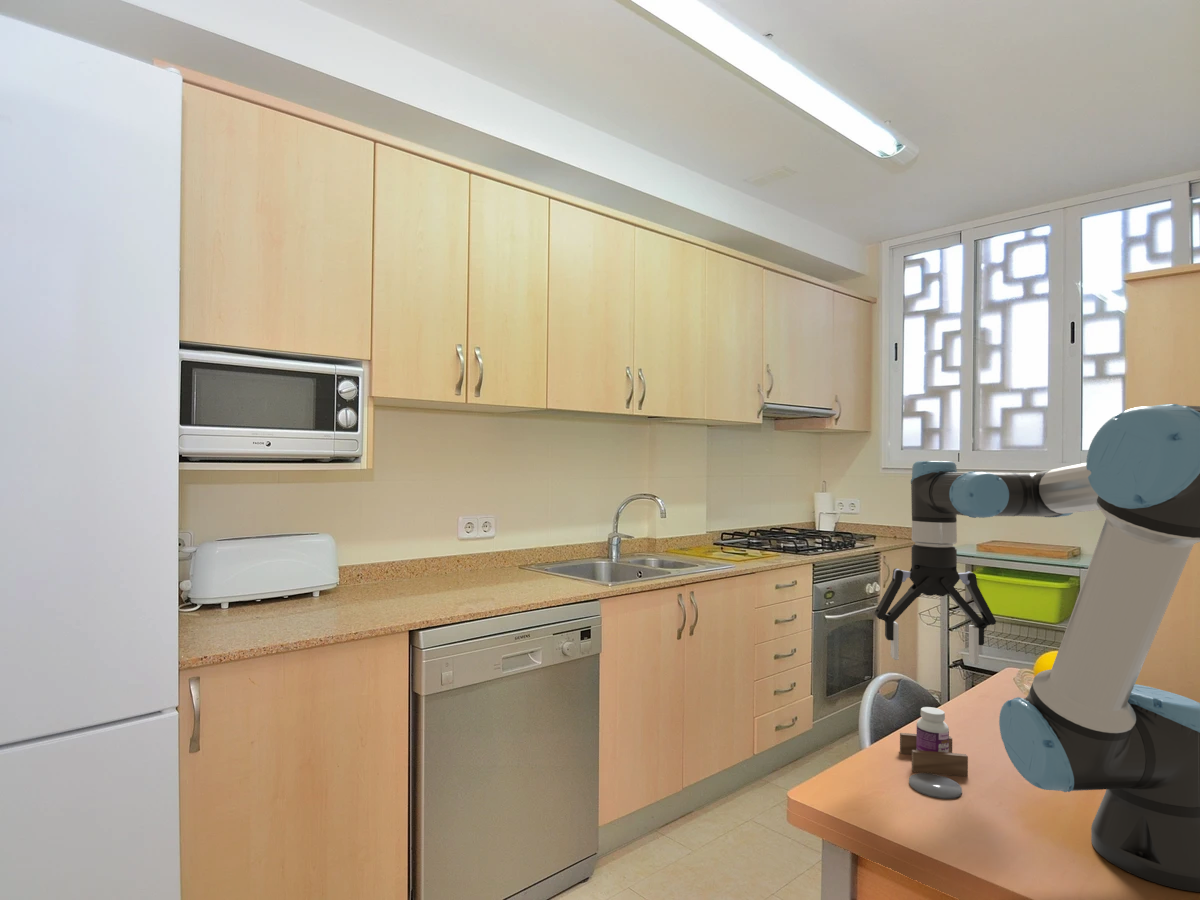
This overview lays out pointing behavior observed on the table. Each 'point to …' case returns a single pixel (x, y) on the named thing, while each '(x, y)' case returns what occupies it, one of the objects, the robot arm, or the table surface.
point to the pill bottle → (932, 731)
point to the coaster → (935, 785)
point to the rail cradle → (933, 758)
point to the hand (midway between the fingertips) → (933, 660)
